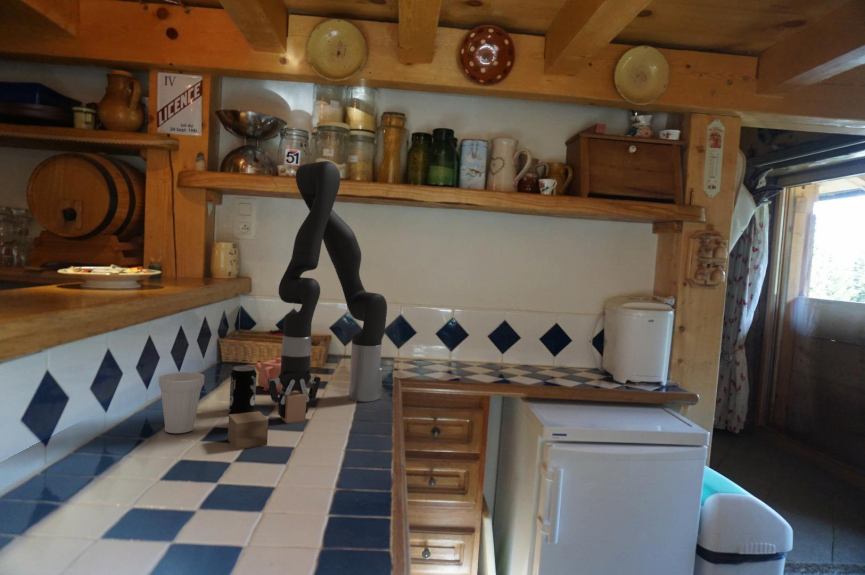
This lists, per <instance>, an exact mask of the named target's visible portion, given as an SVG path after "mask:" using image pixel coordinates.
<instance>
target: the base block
mask: <svg viewBox="0 0 865 575" xmlns="http://www.w3.org/2000/svg"><path fill="white" fill-rule="evenodd" d="M227 422H228V424H227V425H228V427H227V440H228V442H229V443H230V445H231V446H232V447H233V449H234V450H243V449H249V448H257V447H264V446H268V434H269V432H268V431H269V419H268V418H267V417H266V416H265V415H264V414H263V413H262V412H261V411H252V412H249V413H239V414H235V413H232V414H228V421H227Z"/></svg>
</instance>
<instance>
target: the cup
mask: <svg viewBox="0 0 865 575" xmlns="http://www.w3.org/2000/svg"><path fill="white" fill-rule="evenodd" d="M205 379H206V378H205V375H204V373H200V372H192V371H178V372H176V371H175V372H169V373H164V374H161V375H160V376H159V377H158V386H159V389H160V393H161V394H160V396H161V404H162V411H163V412H162V413H163V419H164V420H163V422H164V430H165V432H167V433H170V434H183V433H184V434H185V433H188V432H191V431H193V430H194V429H195V424H196V420H197V419H196V418H197V411H198V406H199V402H200V396H201V391H202V388H203V387H204V384H205Z"/></svg>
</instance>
